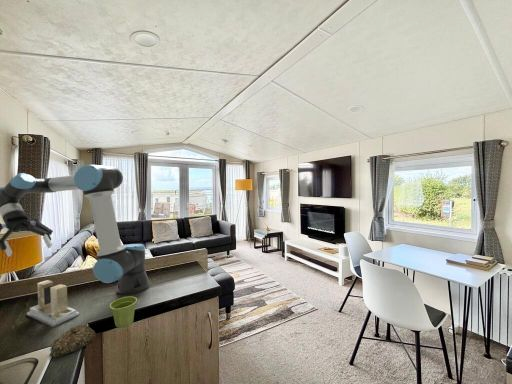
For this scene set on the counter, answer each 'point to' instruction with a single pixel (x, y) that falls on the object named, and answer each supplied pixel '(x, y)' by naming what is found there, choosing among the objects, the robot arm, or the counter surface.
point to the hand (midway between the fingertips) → (31, 250)
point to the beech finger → (44, 295)
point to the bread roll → (72, 340)
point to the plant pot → (123, 311)
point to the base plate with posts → (55, 308)
